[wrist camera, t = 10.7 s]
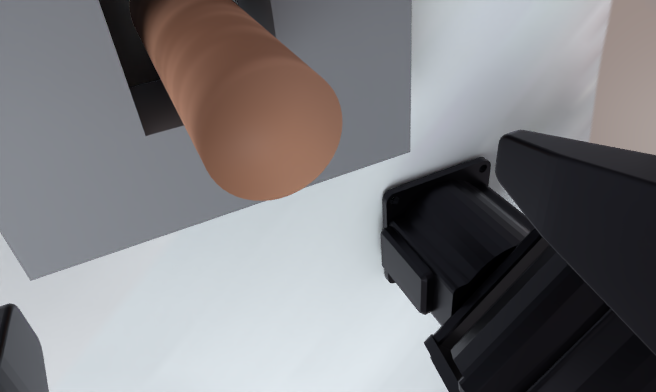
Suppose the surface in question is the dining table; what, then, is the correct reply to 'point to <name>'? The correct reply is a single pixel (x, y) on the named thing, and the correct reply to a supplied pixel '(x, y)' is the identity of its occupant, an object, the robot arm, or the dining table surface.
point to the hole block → (162, 123)
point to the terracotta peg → (241, 96)
